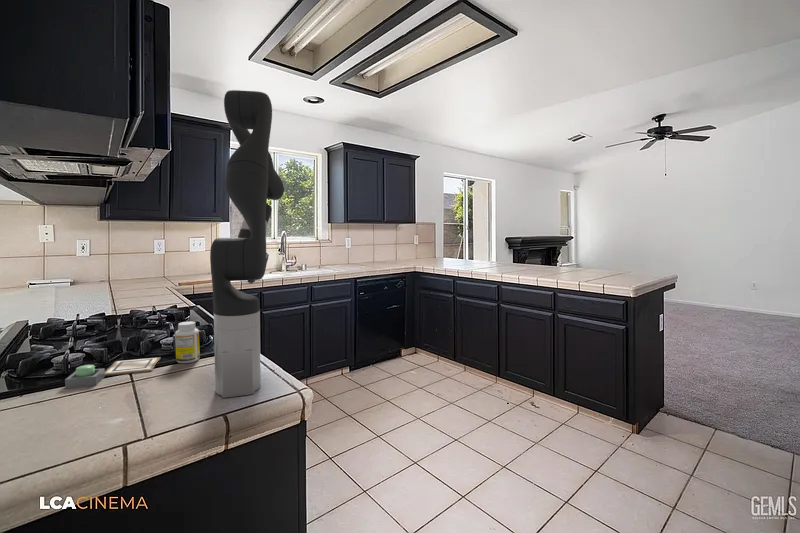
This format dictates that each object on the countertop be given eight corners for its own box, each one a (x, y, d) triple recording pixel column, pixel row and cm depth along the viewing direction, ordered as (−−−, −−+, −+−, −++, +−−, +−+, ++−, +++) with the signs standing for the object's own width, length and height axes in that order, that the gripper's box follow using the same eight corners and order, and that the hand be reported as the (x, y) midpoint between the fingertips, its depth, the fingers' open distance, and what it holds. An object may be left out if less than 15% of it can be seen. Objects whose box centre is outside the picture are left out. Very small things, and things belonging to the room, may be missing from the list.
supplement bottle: (190, 356, 103) (189, 319, 102) (204, 358, 100) (203, 321, 100) (170, 362, 97) (169, 324, 97) (185, 365, 95) (184, 326, 94)
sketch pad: (151, 371, 91) (151, 369, 91) (101, 376, 87) (101, 374, 87) (160, 358, 100) (160, 356, 100) (115, 362, 96) (115, 360, 96)
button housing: (96, 385, 82) (95, 376, 82) (65, 388, 80) (64, 379, 80) (105, 376, 87) (104, 368, 87) (76, 379, 85) (75, 371, 85)
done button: (91, 378, 82) (91, 368, 82) (73, 380, 81) (73, 370, 81) (97, 373, 85) (96, 364, 85) (79, 375, 84) (79, 365, 84)
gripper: (225, 224, 115) (208, 273, 110) (269, 231, 114) (253, 281, 109) (237, 234, 122) (221, 280, 117) (278, 240, 121) (263, 287, 116)
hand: (237, 280), depth 113 cm, fingers open, 8 cm apart
